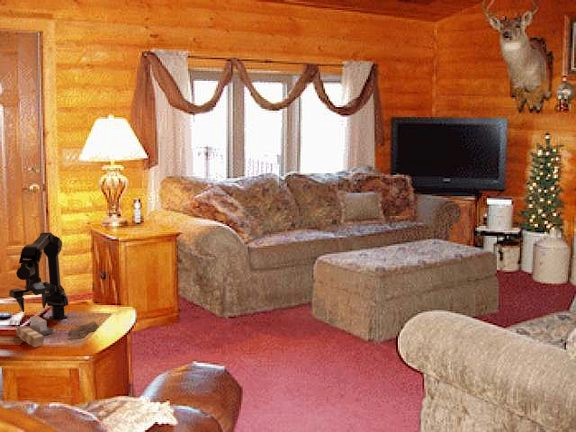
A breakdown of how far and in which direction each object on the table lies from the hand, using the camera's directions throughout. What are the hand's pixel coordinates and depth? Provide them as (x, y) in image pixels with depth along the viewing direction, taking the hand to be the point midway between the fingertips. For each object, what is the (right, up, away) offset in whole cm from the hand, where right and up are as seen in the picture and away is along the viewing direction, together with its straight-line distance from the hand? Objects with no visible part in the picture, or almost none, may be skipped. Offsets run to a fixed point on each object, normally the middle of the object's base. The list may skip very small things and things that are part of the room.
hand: (33, 310), depth 310 cm
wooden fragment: (+18, -12, +14) cm, 25 cm away
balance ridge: (-2, -11, +11) cm, 16 cm away
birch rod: (-1, -14, 0) cm, 14 cm away
